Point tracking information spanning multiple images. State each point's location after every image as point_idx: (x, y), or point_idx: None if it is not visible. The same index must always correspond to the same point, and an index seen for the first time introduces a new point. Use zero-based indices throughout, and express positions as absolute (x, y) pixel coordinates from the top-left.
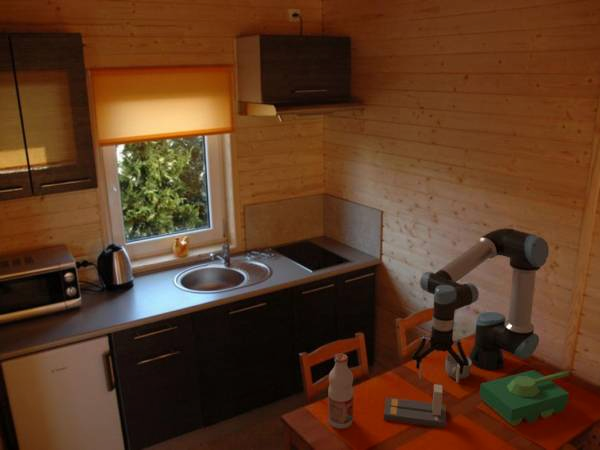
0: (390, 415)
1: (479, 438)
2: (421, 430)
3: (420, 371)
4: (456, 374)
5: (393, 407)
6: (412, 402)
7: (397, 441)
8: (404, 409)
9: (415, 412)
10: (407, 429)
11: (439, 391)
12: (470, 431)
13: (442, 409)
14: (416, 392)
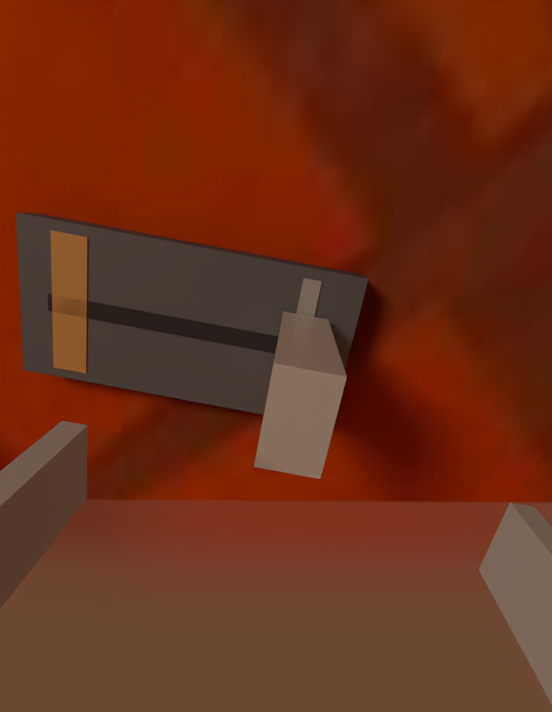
0: (59, 374)
1: (458, 470)
2: (215, 425)
3: (15, 573)
4: (545, 549)
5: (66, 316)
6: (173, 263)
7: (114, 485)
8: (126, 330)
9: (184, 353)
10: (154, 420)
11: (300, 464)
12: (436, 430)
13: (338, 325)
14: (222, 87)
